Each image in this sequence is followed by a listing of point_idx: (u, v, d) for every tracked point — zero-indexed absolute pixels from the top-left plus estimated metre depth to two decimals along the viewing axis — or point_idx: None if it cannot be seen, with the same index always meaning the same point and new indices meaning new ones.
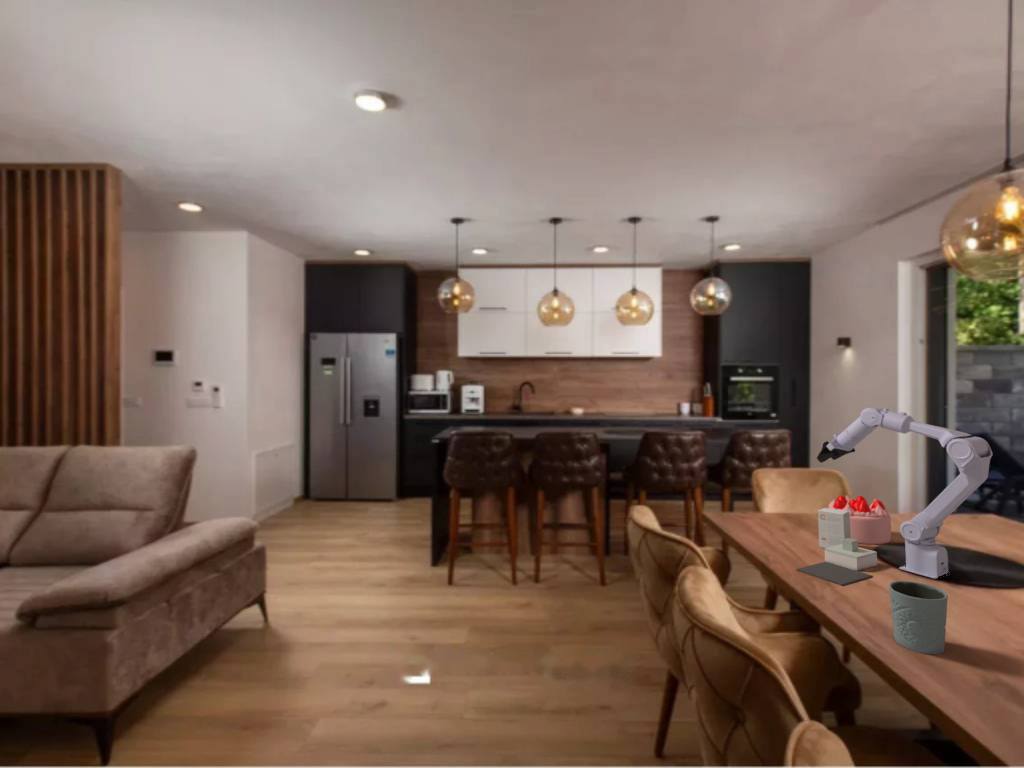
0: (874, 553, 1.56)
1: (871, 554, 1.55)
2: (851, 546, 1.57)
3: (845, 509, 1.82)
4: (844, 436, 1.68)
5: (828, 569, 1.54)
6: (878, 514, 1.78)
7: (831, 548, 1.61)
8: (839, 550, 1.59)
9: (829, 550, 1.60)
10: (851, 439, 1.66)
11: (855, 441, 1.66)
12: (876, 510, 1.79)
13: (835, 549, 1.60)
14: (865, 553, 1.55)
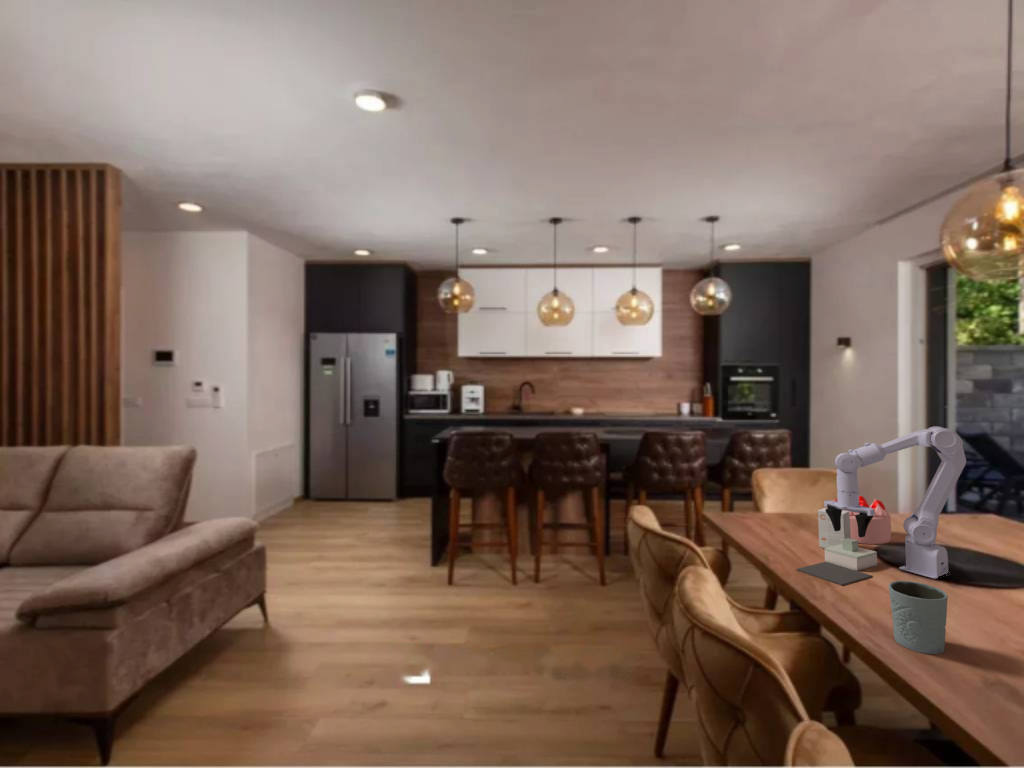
0: (874, 553, 1.56)
1: (871, 554, 1.55)
2: (851, 546, 1.57)
3: None
4: (855, 497, 1.57)
5: (828, 569, 1.54)
6: (878, 514, 1.78)
7: (831, 548, 1.61)
8: (839, 550, 1.59)
9: (829, 550, 1.60)
10: (858, 493, 1.58)
11: None
12: (876, 510, 1.79)
13: (835, 549, 1.60)
14: (865, 553, 1.55)
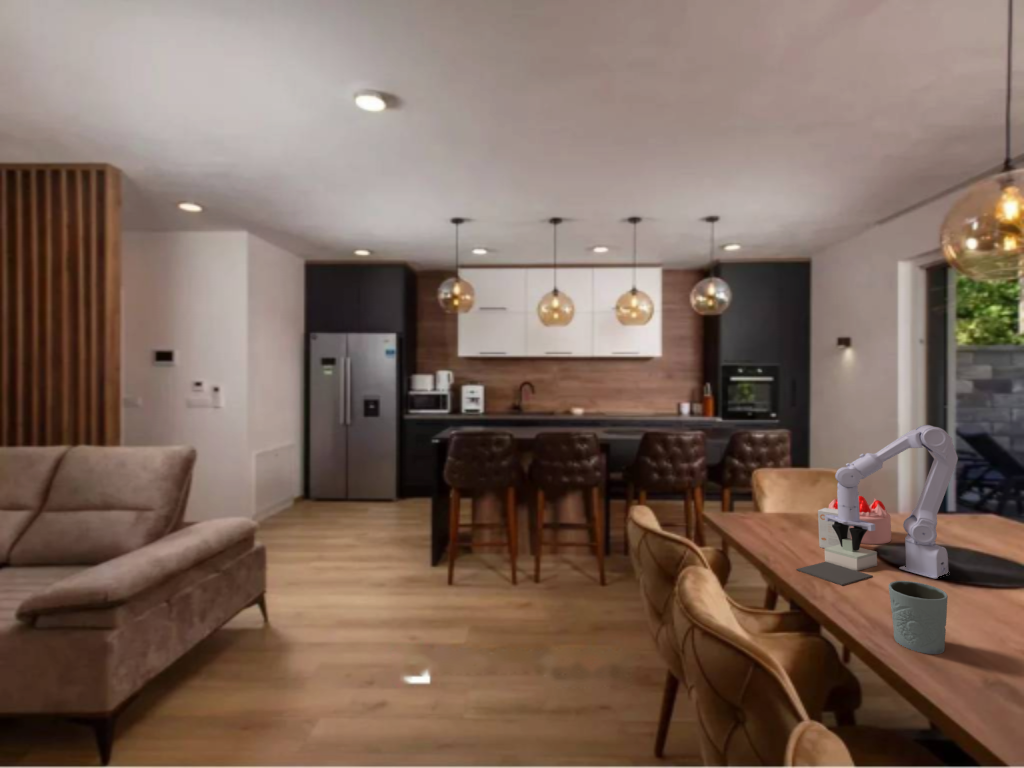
0: (874, 553, 1.56)
1: (871, 554, 1.55)
2: (851, 546, 1.57)
3: None
4: (855, 512, 1.56)
5: (828, 569, 1.54)
6: (878, 514, 1.78)
7: (831, 548, 1.61)
8: (839, 550, 1.59)
9: (829, 550, 1.60)
10: None
11: None
12: (876, 510, 1.79)
13: (835, 549, 1.60)
14: (865, 553, 1.55)
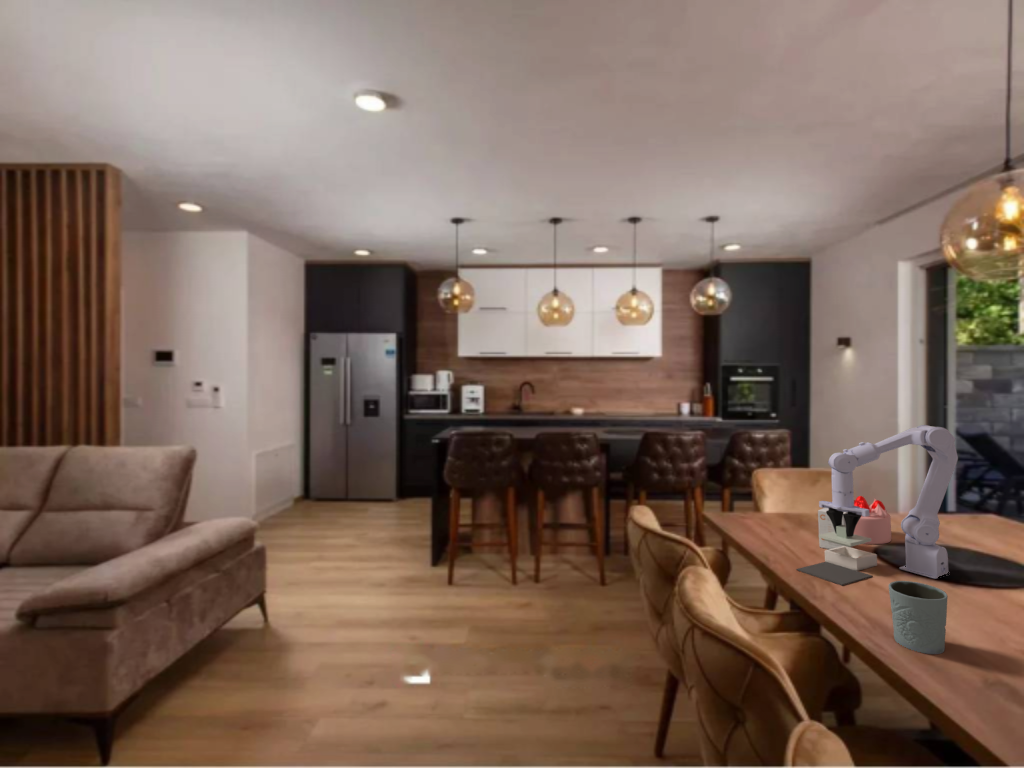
0: (868, 540, 1.54)
1: (865, 541, 1.53)
2: (845, 533, 1.55)
3: None
4: (850, 497, 1.54)
5: (828, 569, 1.54)
6: (878, 514, 1.78)
7: (825, 535, 1.59)
8: (833, 537, 1.57)
9: (823, 537, 1.58)
10: (853, 494, 1.55)
11: None
12: (876, 510, 1.79)
13: (829, 535, 1.58)
14: (859, 540, 1.53)
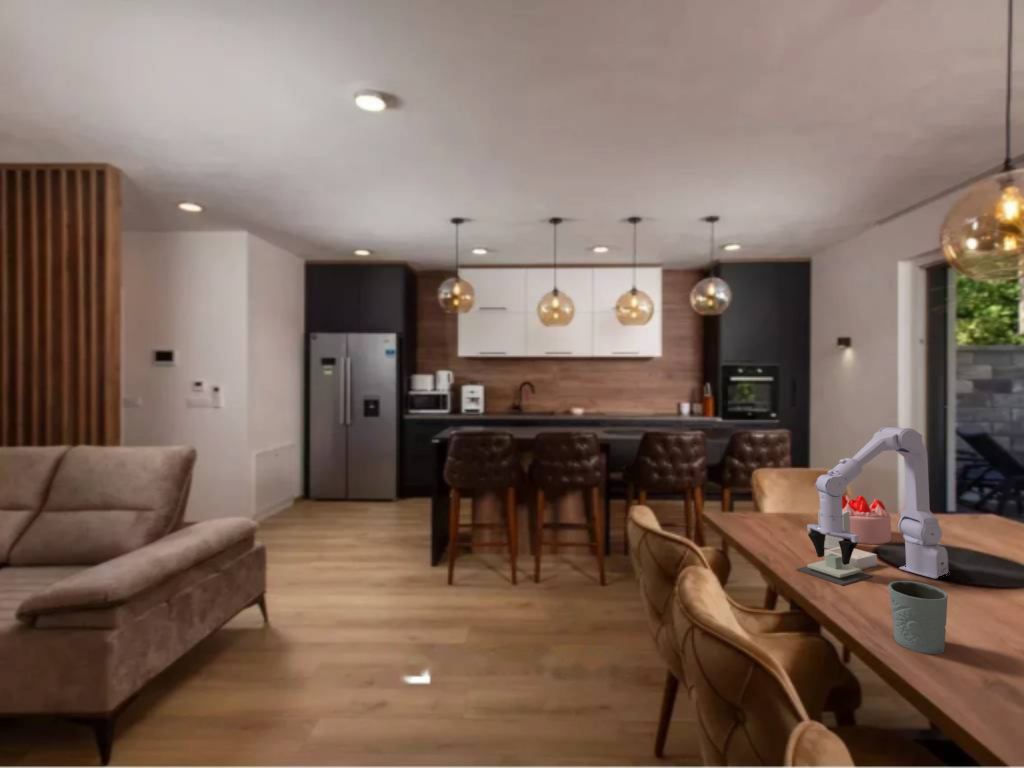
0: (859, 570, 1.48)
1: (855, 572, 1.47)
2: (834, 563, 1.49)
3: (845, 509, 1.82)
4: (839, 522, 1.48)
5: None
6: (878, 514, 1.78)
7: (814, 564, 1.53)
8: (822, 567, 1.51)
9: (811, 567, 1.52)
10: (842, 518, 1.49)
11: None
12: (876, 510, 1.79)
13: (818, 565, 1.52)
14: (849, 570, 1.47)
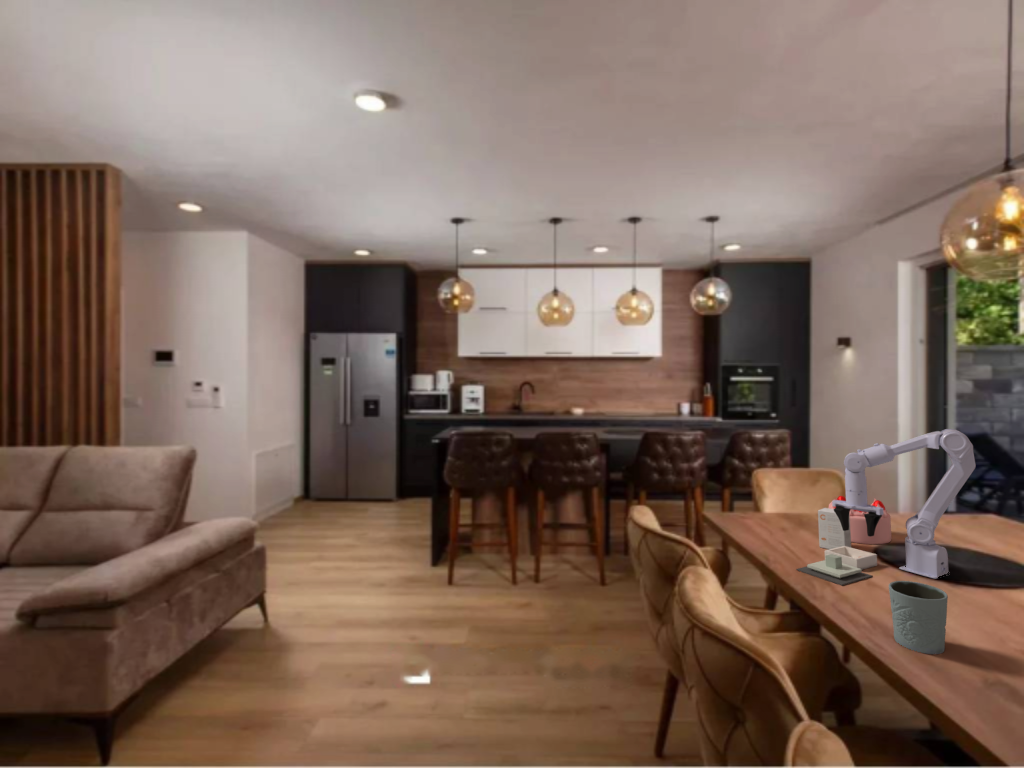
0: (859, 570, 1.48)
1: (855, 572, 1.47)
2: (834, 563, 1.49)
3: None
4: (864, 496, 1.57)
5: None
6: None
7: (814, 564, 1.53)
8: (822, 567, 1.51)
9: (811, 567, 1.52)
10: None
11: None
12: None
13: (818, 565, 1.52)
14: (849, 570, 1.47)
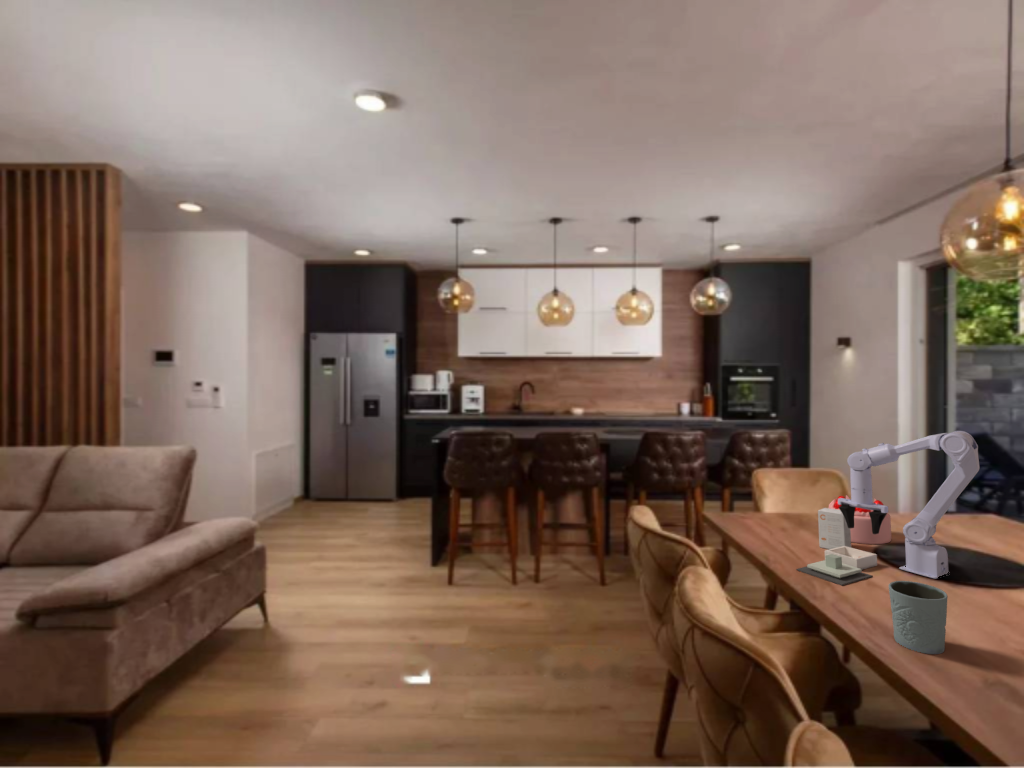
0: (859, 570, 1.48)
1: (855, 572, 1.47)
2: (834, 563, 1.49)
3: None
4: (869, 494, 1.59)
5: None
6: None
7: (814, 564, 1.53)
8: (822, 567, 1.51)
9: (811, 567, 1.52)
10: None
11: None
12: None
13: (818, 565, 1.52)
14: (849, 570, 1.47)
